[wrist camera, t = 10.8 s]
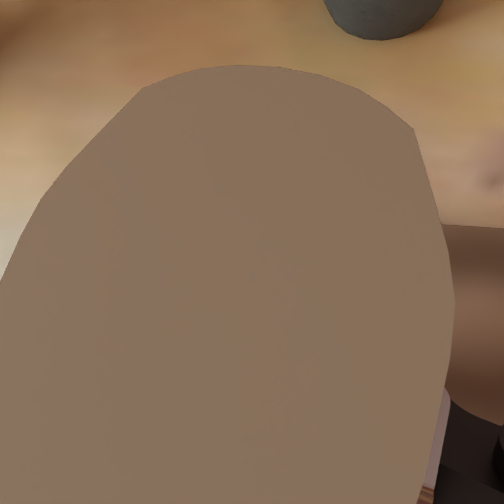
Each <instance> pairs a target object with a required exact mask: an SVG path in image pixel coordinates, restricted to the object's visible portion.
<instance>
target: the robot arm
mask: <svg viewBox="0 0 504 504" xmlns="http://www.w3.org/2000/svg"><path fill="white" fill-rule="evenodd" d="M416 504H504V424H503V425H502V426H500V425H497V424H495V423H492V422H490V421H487V420H485V419H482V418H480V417H477V416H475V415H473V414H471V413H469V412H467V411H466V410H464V409H462V408H461V407H460V406H458V405H457V404H456V403H455V402H454V401H452V400H451V398H450V396H449V394H448V392H447V390H446V389H445V387H444V390H443V394H442V399H441V404H440V409H439V413H438V418H437V423H436V428H435V432H434V437H433V442H432V446H431V451H430V456H429V461H428V465H427V470H426V475H425V479H424V482H423V485H422V488H421V491H420V494H419V497H418V500H417V503H416Z"/></svg>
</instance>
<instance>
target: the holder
mask: <svg viewBox="0 0 504 504" xmlns="http://www.w3.org/2000/svg"><path fill="white" fill-rule="evenodd" d="M441 226H442V230H443V233H444V237H445V241H446V245H447V248H448V252H449V260H450V267H451V275H452V282H453V289H454V297H455V313H454V324H453V334H452V344H451V354H450V361H449V366H448V371H447V376H446V380H445V385H444V387H445V389H446V390H447V392H448V394H449V396H450V398H451V400H452V401H454V402H455V403H456V404H457V405H458V406H460V407H461V408H462V409H464V410H466V411H467V412H469V413H471V414H473V415H475V416H477V417H480V418H482V419H485V420H487V421H490V422H492V423H495V424H497V425H500V426H502V425H503V424H504V229H503V228H488V227H473V226H458V225H443V224H441Z"/></svg>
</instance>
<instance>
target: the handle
mask: <svg viewBox="0 0 504 504" xmlns="http://www.w3.org/2000/svg"><path fill="white" fill-rule="evenodd" d="M454 313H455V297H454V289H453V282H452V275H451V267H450V260H449V252H448V248H447V245H446V241H445V237H444V233H443V230H442V226H441V222H440V218H439V215H438V211H437V207H436V203H435V200H434V196H433V193H432V189H431V186H430V183H429V179H428V176H427V173H426V169H425V166H424V163H423V159H422V156H421V153H420V149H419V146H418V143H417V139H416V136H415V133H414V130H413V128H412V127H410V126H409V125H408V124H407V123H406V122H404V121H403V120H402V119H401V118H400V117H398V116H397V115H396V114H395V113H394V112H392V111H391V110H390V109H389V108H388V107H386V106H385V105H383V104H381V103H380V102H378V101H377V100H375V99H373V98H372V97H370V96H369V95H367V94H365V93H364V92H362V91H361V90H359V89H357V88H354V87H352V86H349V85H346V84H343V83H340V82H338V81H335V80H332V79H329V78H327V77H324V76H321V75H317V74H312V73H307V72H302V71H297V70H291V69H286V68H281V67H268V66H248V65H233V66H222V67H212V68H201V69H197V70H194V71H190V72H187V73H183V74H180V75H176V76H173V77H169V78H167V79H164V80H162V81H159V82H157V83H155V84H152V85H150V86H147V87H145V88H142V89H141V90H140V91H139V92H138V93H137V94H136V95H135V96H134V97H133V98H132V99H131V100H130V101H129V102H128V103H127V104H126V105H125V106H124V107H123V108H122V109H121V110H120V111H119V113H118V114H117V115H116V116H115V117H114V118H113V119H112V120H111V121H110V122H109V123H108V124H107V125H106V126H105V127H104V128H103V129H102V130H101V131H100V132H99V133H98V134H97V135H96V136H95V137H94V138H93V139H92V140H91V141H90V142H89V143H88V144H87V145H86V147H85V148H84V149H83V150H82V151H81V152H80V153H79V154H78V155H77V156H76V157H75V158H74V159H73V160H72V161H71V162H70V163H69V165H68V166H67V167H66V168H65V169H64V170H63V172H62V173H61V174H60V175H59V177H58V178H57V179H56V181H55V182H54V183H53V184H52V186H51V187H50V188H49V189H48V191H47V192H46V193H45V195H44V196H43V197H42V198H41V200H40V202H39V203H38V205H37V207H36V209H35V211H34V213H33V214H32V216H31V218H30V220H29V222H28V223H27V225H26V227H25V229H24V231H23V233H22V234H21V236H20V239H19V241H18V243H17V245H16V248H15V250H14V252H13V254H12V257H11V259H10V261H9V263H8V265H7V268H6V270H5V272H4V274H3V277H2V279H1V281H0V504H416V503H417V500H418V497H419V494H420V491H421V488H422V485H423V482H424V479H425V475H426V470H427V465H428V461H429V456H430V451H431V446H432V442H433V437H434V432H435V428H436V423H437V418H438V413H439V409H440V404H441V399H442V394H443V390H444V385H445V380H446V376H447V371H448V366H449V361H450V354H451V344H452V334H453V324H454Z"/></svg>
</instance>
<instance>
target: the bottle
mask: <svg viewBox="0 0 504 504" xmlns="http://www.w3.org/2000/svg"><path fill="white" fill-rule="evenodd" d="M324 2H325V4H326V7H327V9H328V11H329V13H330V14H331V16H332V18H333V20H334V21H335V23H336V24H337V25H338V26H340V27H341V28H342V29H343V30H344V31H346V32H347V33H349V34H351V35H354V36H357V37H360V38H362V39H369V40H387V39H393V38H398V37H402V36H404V35H407V34H409V33H411V32H413V31H415V30H417V29H419V28H420V27H422V26H423V25H424V24H425V23H426V22H427V21H429V20H430V19H431V18H432V17H433V16H434V14H435V13H436V11H437V10H438V8H439V6H440V5H441V3H442V2H443V0H324Z"/></svg>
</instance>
